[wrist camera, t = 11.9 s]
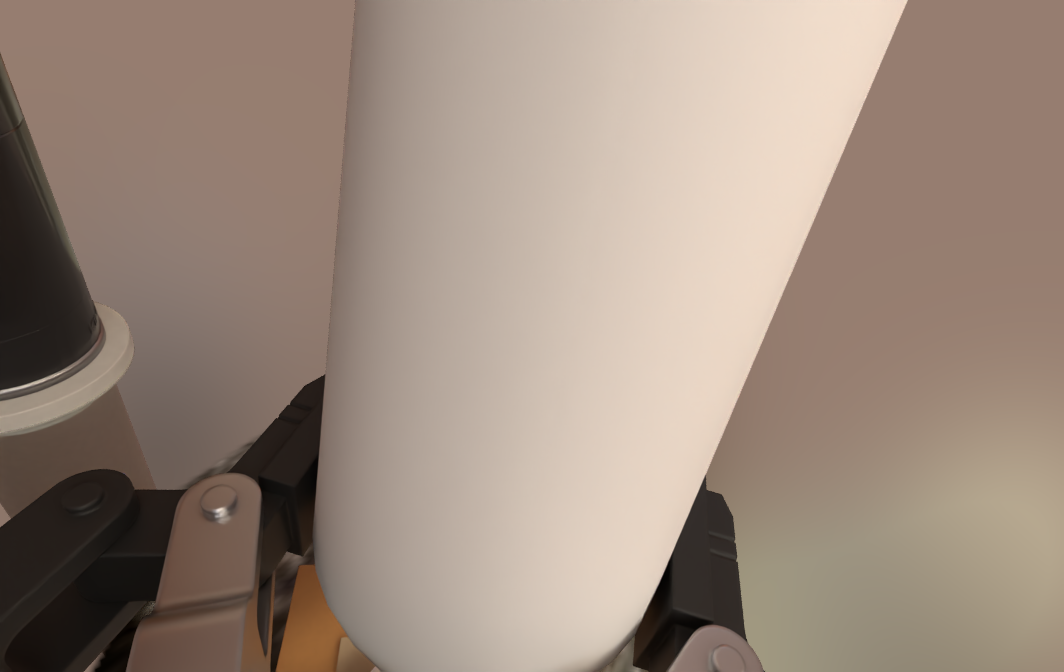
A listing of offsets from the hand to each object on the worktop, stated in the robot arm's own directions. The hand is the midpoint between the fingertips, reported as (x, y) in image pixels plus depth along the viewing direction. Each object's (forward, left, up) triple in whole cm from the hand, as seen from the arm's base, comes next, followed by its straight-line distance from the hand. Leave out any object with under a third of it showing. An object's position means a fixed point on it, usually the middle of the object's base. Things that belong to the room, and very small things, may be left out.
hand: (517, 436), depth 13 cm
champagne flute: (-2, -2, -13) cm, 13 cm away
